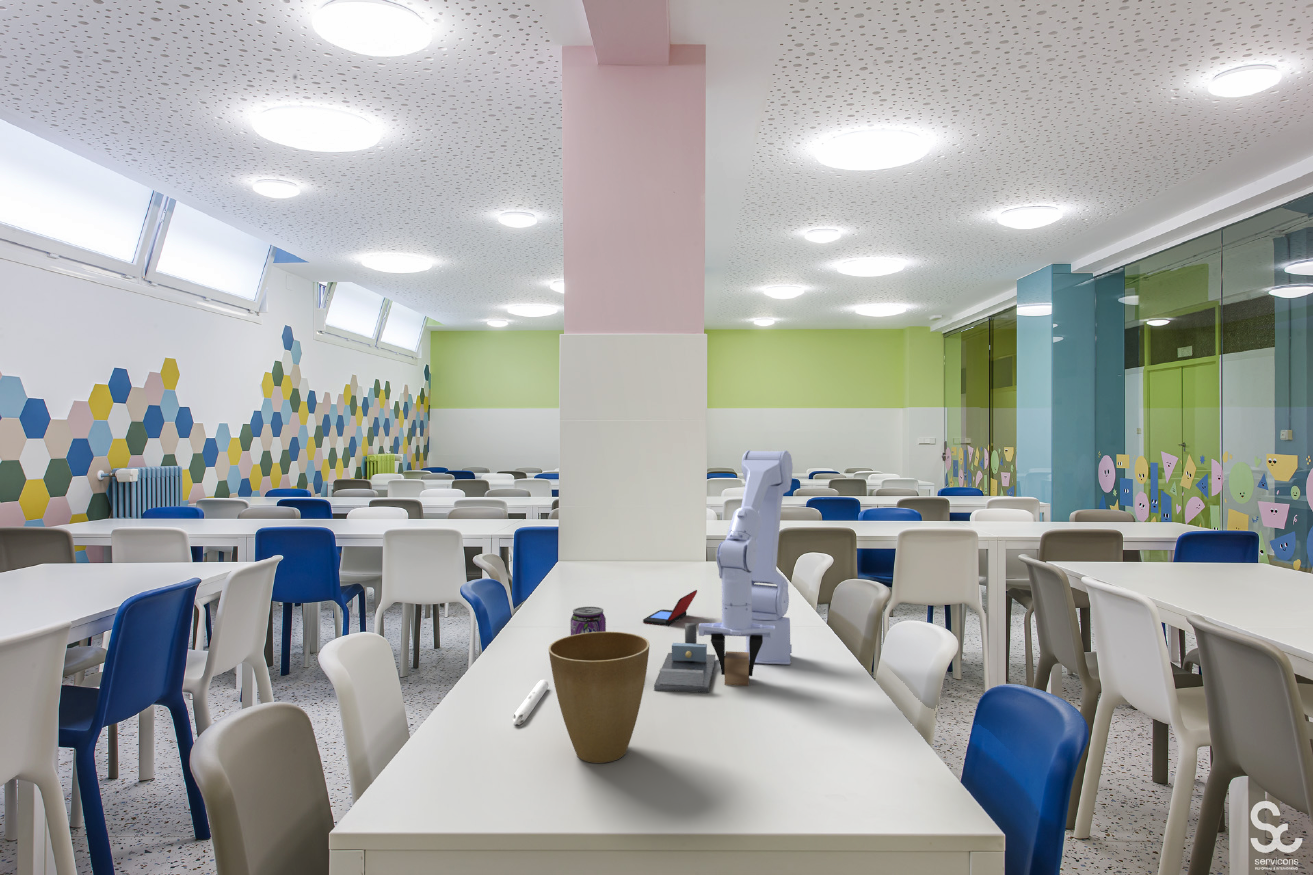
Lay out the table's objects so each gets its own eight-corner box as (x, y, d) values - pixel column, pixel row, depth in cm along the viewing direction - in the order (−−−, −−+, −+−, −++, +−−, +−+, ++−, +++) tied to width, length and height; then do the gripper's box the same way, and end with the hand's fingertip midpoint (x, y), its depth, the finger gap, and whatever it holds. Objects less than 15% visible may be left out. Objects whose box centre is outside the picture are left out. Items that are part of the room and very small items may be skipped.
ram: (674, 652, 149) (674, 622, 149) (708, 653, 148) (707, 623, 148) (671, 661, 143) (671, 630, 143) (705, 663, 142) (705, 631, 142)
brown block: (749, 677, 137) (749, 652, 137) (748, 685, 132) (748, 659, 132) (725, 676, 137) (725, 651, 137) (724, 684, 133) (724, 658, 133)
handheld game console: (661, 613, 190) (661, 585, 190) (698, 617, 186) (698, 589, 186) (641, 624, 179) (641, 594, 179) (680, 628, 174) (680, 598, 174)
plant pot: (598, 724, 115) (598, 625, 115) (670, 749, 105) (669, 641, 105) (527, 755, 103) (527, 646, 103) (601, 787, 94) (600, 666, 94)
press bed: (668, 657, 150) (668, 640, 150) (715, 659, 148) (715, 642, 148) (654, 690, 130) (654, 671, 130) (708, 692, 129) (708, 673, 129)
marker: (521, 729, 113) (521, 715, 113) (508, 729, 113) (508, 714, 113) (548, 690, 131) (548, 677, 131) (537, 690, 131) (537, 677, 131)
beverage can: (563, 671, 141) (563, 611, 141) (583, 662, 147) (583, 604, 147) (593, 677, 138) (593, 615, 138) (612, 666, 144) (612, 608, 144)
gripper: (697, 606, 132) (697, 678, 132) (775, 608, 130) (775, 682, 130) (700, 598, 139) (700, 667, 139) (774, 600, 137) (775, 670, 137)
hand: (737, 673), depth 135 cm, fingers closed on brown block, 4 cm apart
